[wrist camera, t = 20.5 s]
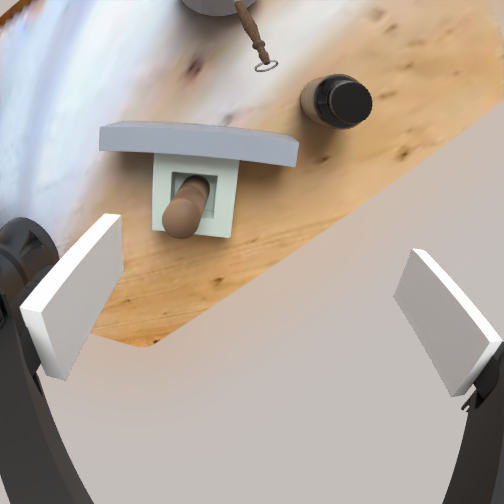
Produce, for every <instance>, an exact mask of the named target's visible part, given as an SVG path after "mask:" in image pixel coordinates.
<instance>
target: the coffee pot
mask: <svg viewBox="0 0 504 504" xmlns="http://www.w3.org/2000/svg"><path fill="white" fill-rule="evenodd" d="M182 1H183V3H184V4H185V5H187V6H188V7H189V8H190V9H192V10H194V11H196V12H198V13H200V14H205V15H210V16H226V15H230V14H235V13H237V12H238V15H239V17H240V20H241V22H242V25H243V28H244V30H245V31H246V33H247V34H248V35H249V37H250V38H251V40H252V41H253V45H252V47H253V49H256V50H257V51H258V53H259V58H260V59H261V61H262V63H260V64H258V65H257V66H255V71H256V72H265V71H269V70H271V69H273V68H275V67H276V66H277V65H278V62H277V61H276V60H269V55H268V53H267V52H266V51H265V49H264V46H265V42H264V41H262V40H261V39H260V35H259V32H258V28H257V25H256V23H255V22H254V20H253V18H252V17H251V15H250V13H249V12H248V10H247V8H248V7H249V6H250V5H252V4H253V3H254V2H255V1H256V0H182ZM270 62H276V65H274V66H273V67H271V68H268V69H265V70H256V69H257V67H259V66H260V65H262V64H264V65H268V64H269V63H270Z"/></svg>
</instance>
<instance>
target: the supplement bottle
mask: <svg viewBox="0 0 504 504" xmlns="http://www.w3.org/2000/svg"><path fill="white" fill-rule="evenodd" d="M301 106H302V109H303V111H304V113H305V114H306V115H307V117H308V118H310V119H311V120H312V121H314V122H316V123H319V124H322V125H325V126H328V127H331V128H334V129H341V130H345V129H350V128H353V127H355V126H357V125H358V124H359V123H361V122H362V121H363V120H365V119H366V118H367V117H368V116H369V114H370V113H371V110H372V97H371V96H370V93H369V92H368V90H367V89H366V88H365V86H363V85H362V84H360V83H359V82H358V81H357V80H356V79H354V78H352V77H350V76H348V75H344V74H333V75H329V76H325V77H321V78H317V79H315V80H312V81H311V82H309V83H308V84H307V85H306V86H305V87H304V89H303V91H302V94H301Z"/></svg>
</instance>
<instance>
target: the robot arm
mask: <svg viewBox="0 0 504 504" xmlns="http://www.w3.org/2000/svg"><path fill="white" fill-rule="evenodd" d="M123 272H124V264H123V250H122V232H121V215H114V214H104V215H103V216H102V217H101V218H100V219H99V220H98V221H97V222H96V223H95V224H94V225H93V226H92V227H91V228H90V229H89V230H88V231H87V232H86V233H85V234H84V235H83V236H82V237H81V238H80V239H79V240H78V241H77V242H76V243H75V244H74V245H73V246H72V247H71V248H70V250H69V251H68V252H67V253H66V254H65V255H64V256H63V257H62V258H61V259H60V260H59V256H58V252H57V249H56V247H55V245H54V243H53V241H52V239H51V238H50V236H49V235H48V233H47V232H46V231H45V230H44V229H43V228H42V227H41V226H40V225H39V224H37V223H36V222H34V221H32V220H30V219H27V218H21V217H20V218H15V219H12V220H11V221H9V222H8V223H7V224H5V225H4V226H3V227H2V228H1V230H0V475H1V478H2V481H3V484H4V487H5V490H6V493H7V495H8V498H9V501H10V504H94V503H93V501H92V499H91V498H90V496H89V494H88V492H87V491H86V489H85V487H84V485H83V483H82V481H81V480H80V478H79V476H78V474H77V472H76V470H75V468H74V466H73V464H72V462H71V459H70V458H69V455H68V453H67V451H66V449H65V446H64V444H63V442H62V439H61V437H60V435H59V432H58V430H57V427H56V425H55V422H54V420H53V417H52V415H51V412H50V409H49V406H48V404H47V401H46V398H45V395H44V392H43V389H42V386H41V383H40V380H39V377H38V375H37V373H36V371H37V369H38V367H39V366H40V364H41V365H42V367H43V369H44V371H45V373H46V375H47V376H50V377H54V378H57V379H61V380H64V381H66V380H67V378H68V375H69V374H70V371H71V369H72V367H73V365H74V363H75V361H76V359H77V357H78V355H79V353H80V350H81V349H82V347H83V345H84V343H85V341H86V339H87V337H88V335H89V333H90V331H91V329H92V328H93V326H94V324H95V322H96V320H97V318H98V316H99V314H100V313H101V311H102V309H103V307H104V305H105V304H106V302H107V300H108V298H109V296H110V295H111V293H112V291H113V289H114V288H115V286H116V284H117V282H118V281H119V279H120V277H121V276H122V274H123ZM394 298H395V300H396V301H397V303H398V305H399V306H400V308H401V309H402V311H403V313H404V314H405V316H406V318H407V319H408V321H409V323H410V324H411V326H412V327H413V329H414V331H415V333H416V334H417V336H418V338H419V339H420V341H421V343H422V344H423V346H424V348H425V350H426V352H427V353H428V355H429V357H430V359H431V360H432V362H433V364H434V366H435V368H436V370H437V371H438V373H439V375H440V377H441V379H442V380H443V383H444V384H445V386H446V388H447V390H448V392H449V394H450V396H451V397H455V396H460V395H464V394H465V393H466V392H467V390H468V389H469V388H470V387H471V386H472V384H474V386H475V387H476V390H475V391H474V393H473V394H472V395H471V396H470V398H469V399H468V400H467V401H466V402H465V404H464V405H463V406H462V408H461V409H462V410H464V408H465V407H466V406H468V405H469V406H470V407H469V408H468V410H467V411H466V412H468V417H467V422H466V426H465V431H464V435H463V439H462V443H461V447H460V451H459V454H458V458H457V462H456V465H455V468H454V472H453V475H452V478H451V481H450V484H449V487H448V490H447V493H446V495H445V498H444V501H443V503H442V504H504V342H503V341H502V339H501V338H500V337H499V336H498V334H497V333H496V332H495V330H494V329H493V328H492V326H491V325H490V324H489V323H488V321H487V320H486V319H485V318H484V316H483V315H482V314H481V313H480V312H479V311H478V309H477V308H476V307H475V306H474V304H473V303H472V302H471V301H470V300H469V298H468V297H467V296H466V295H465V294H464V293H463V292H462V290H461V289H460V288H459V287H458V286H457V285H456V284H455V283H454V282H453V280H452V279H451V278H450V277H449V276H448V275H447V274H446V273H445V272H444V270H443V269H442V268H441V267H440V266H439V265H438V264H437V263H436V262H435V261H434V260H433V259H432V258H431V257H430V256H429V255H428V253H427V252H425V251H424V250H420V249H413V248H412V250H411V252H410V255H409V258H408V261H407V264H406V266H405V269H404V271H403V274H402V277H401V279H400V282H399V284H398V287H397V289H396V292H395V294H394Z"/></svg>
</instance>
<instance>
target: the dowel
mask: <svg viewBox="0 0 504 504" xmlns="http://www.w3.org/2000/svg"><path fill="white" fill-rule="evenodd" d="M209 193H210V185H209V183H208V181H207V180H206V179H205V178H204V177H202V176H199V175H192V176H189V177H188V178H186V179H185V181H184V182H183V183H182V185H181V186H180V188H179V189H178V191H177V192H176V194H175V195H174V197H173V199H172V200H171V202H170V203H169V205H168V206H167V208H166V209H165V211H164V213H163V215H162V225H163V227H164V229H165V231H166V232H167V233H168V234H169V235H171V236H172V237H175V238H179V239H184V238H188V237H190V236H192V235H193V234H194V233H195V232H196V231H197V229H198V226H199V223H200V220H201V217H202V214H203V211H204V208H205V205H206V202H207V199H208V196H209Z"/></svg>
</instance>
